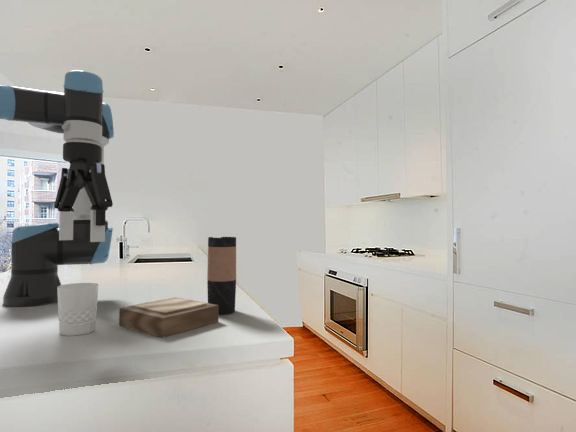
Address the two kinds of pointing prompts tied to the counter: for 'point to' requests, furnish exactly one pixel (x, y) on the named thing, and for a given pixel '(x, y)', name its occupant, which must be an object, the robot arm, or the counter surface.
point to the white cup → (77, 308)
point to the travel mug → (222, 273)
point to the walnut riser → (168, 316)
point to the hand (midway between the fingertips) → (81, 241)
